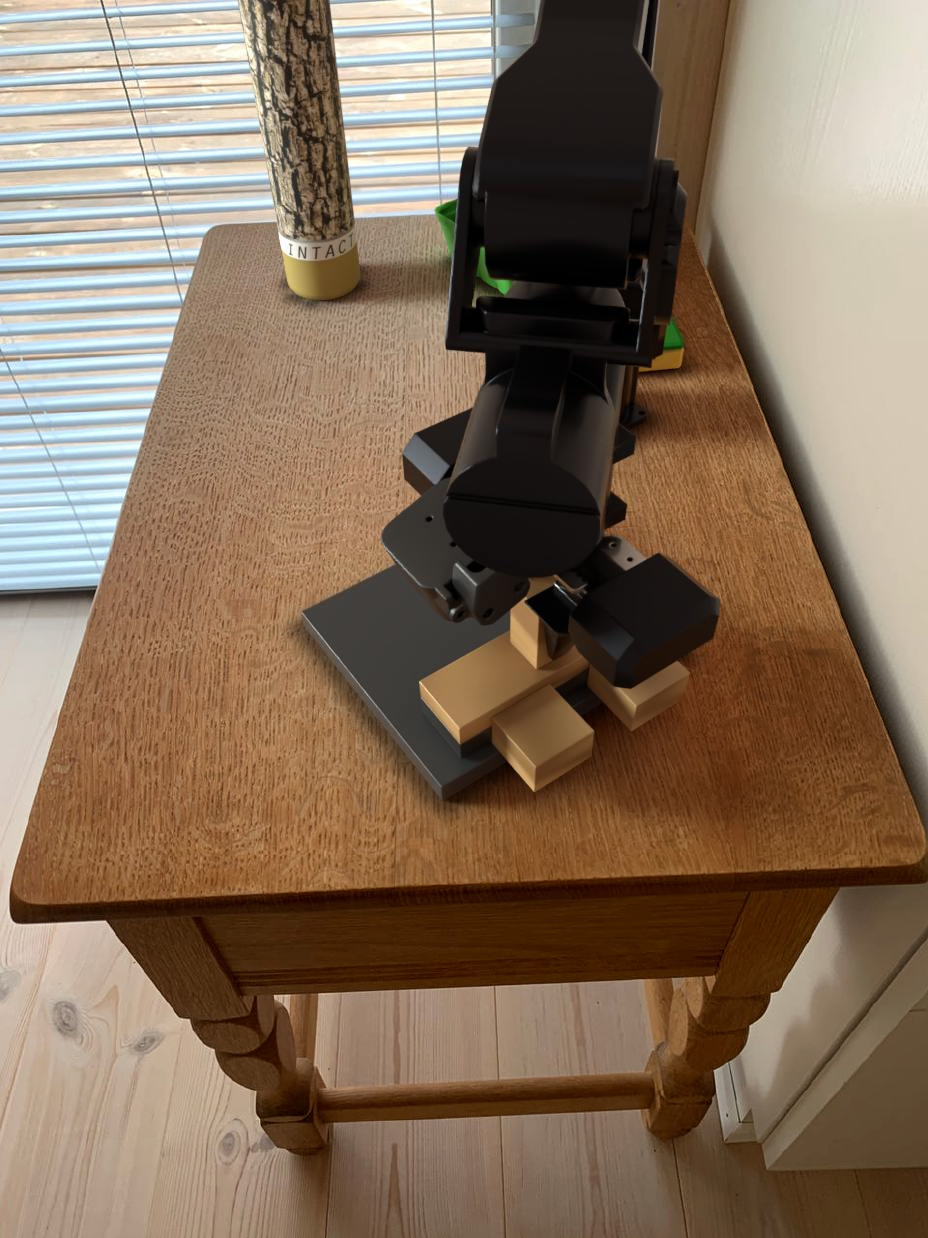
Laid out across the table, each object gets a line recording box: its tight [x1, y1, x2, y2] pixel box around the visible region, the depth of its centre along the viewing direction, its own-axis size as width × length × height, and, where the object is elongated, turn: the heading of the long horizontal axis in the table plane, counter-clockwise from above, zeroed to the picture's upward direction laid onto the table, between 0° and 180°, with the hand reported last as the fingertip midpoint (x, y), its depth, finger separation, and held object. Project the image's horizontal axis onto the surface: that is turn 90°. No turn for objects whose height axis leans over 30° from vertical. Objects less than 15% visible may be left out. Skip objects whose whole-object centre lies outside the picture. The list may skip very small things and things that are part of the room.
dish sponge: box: [639, 316, 686, 373], centre depth 85 cm, size 7×14×2 cm, turn 7°
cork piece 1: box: [492, 684, 595, 793], centre depth 54 cm, size 4×4×2 cm
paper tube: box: [237, 0, 361, 301], centre depth 82 cm, size 7×7×25 cm
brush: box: [419, 576, 590, 759], centre depth 55 cm, size 14×4×8 cm, turn 125°
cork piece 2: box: [587, 660, 691, 732], centre depth 57 cm, size 4×4×2 cm
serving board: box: [300, 563, 604, 802], centre depth 62 cm, size 18×16×2 cm
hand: (542, 639), depth 56 cm, fingers closed on brush, 2 cm apart
